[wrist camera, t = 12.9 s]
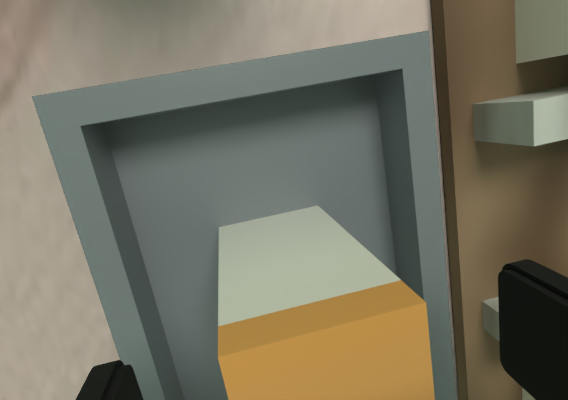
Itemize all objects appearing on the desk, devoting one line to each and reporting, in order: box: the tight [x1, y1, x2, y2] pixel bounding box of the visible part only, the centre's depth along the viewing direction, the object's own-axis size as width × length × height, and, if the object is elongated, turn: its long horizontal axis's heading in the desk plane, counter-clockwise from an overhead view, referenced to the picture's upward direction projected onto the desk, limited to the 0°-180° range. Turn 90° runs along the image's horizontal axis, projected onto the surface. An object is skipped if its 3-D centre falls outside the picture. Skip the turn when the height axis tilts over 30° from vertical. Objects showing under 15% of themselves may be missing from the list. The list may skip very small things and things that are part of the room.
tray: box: [32, 31, 456, 400], centre depth 14 cm, size 12×16×3 cm
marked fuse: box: [218, 206, 435, 400], centre depth 11 cm, size 4×5×8 cm
